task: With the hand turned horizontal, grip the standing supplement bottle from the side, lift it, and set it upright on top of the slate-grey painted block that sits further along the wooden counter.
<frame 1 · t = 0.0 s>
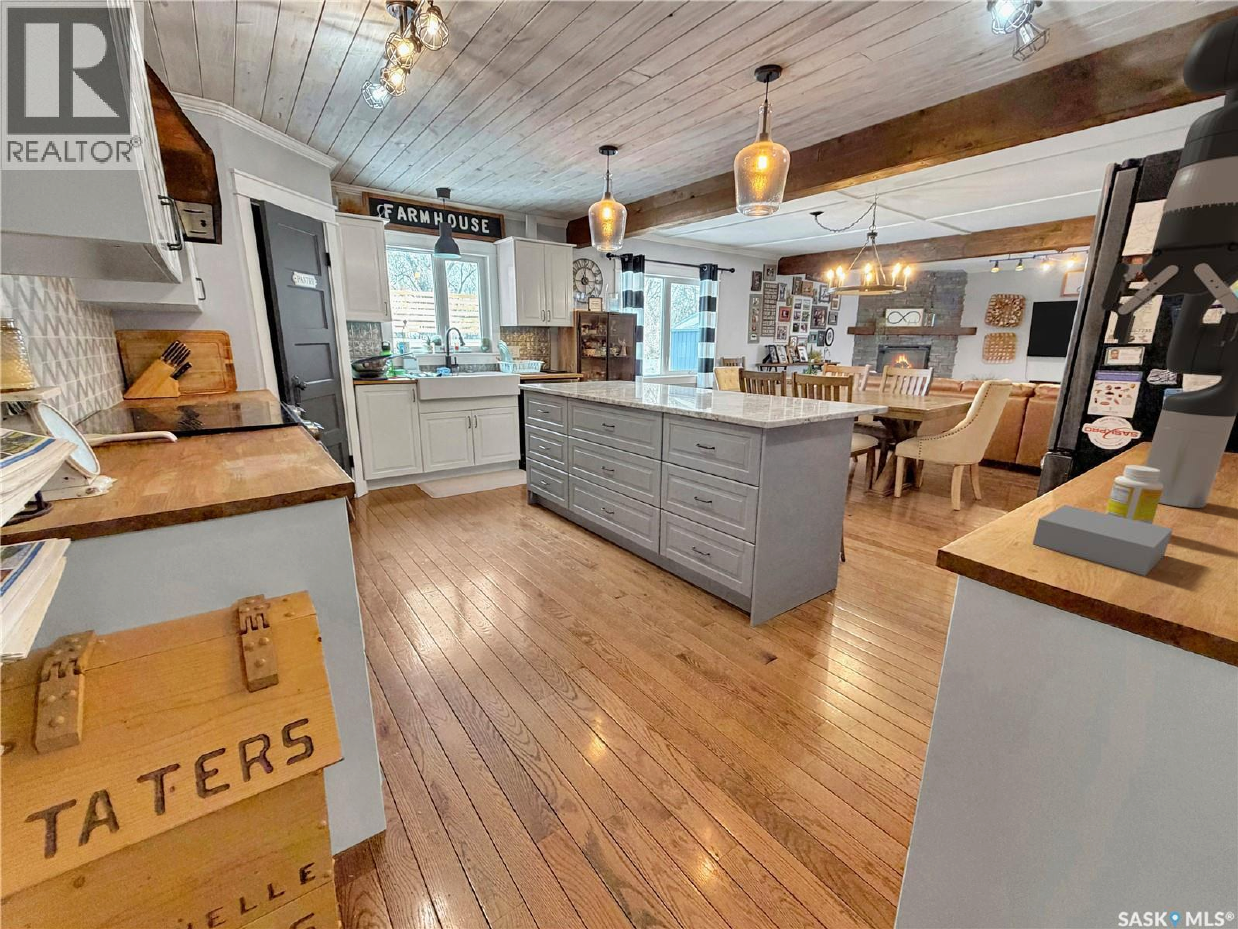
hand: (1167, 345, 65), 29 cm above the countertop, tool pointing down, fingers open, 8 cm apart
slate block: (1097, 549, 73), on the countertop
supplement bottle: (1124, 529, 82), on the countertop
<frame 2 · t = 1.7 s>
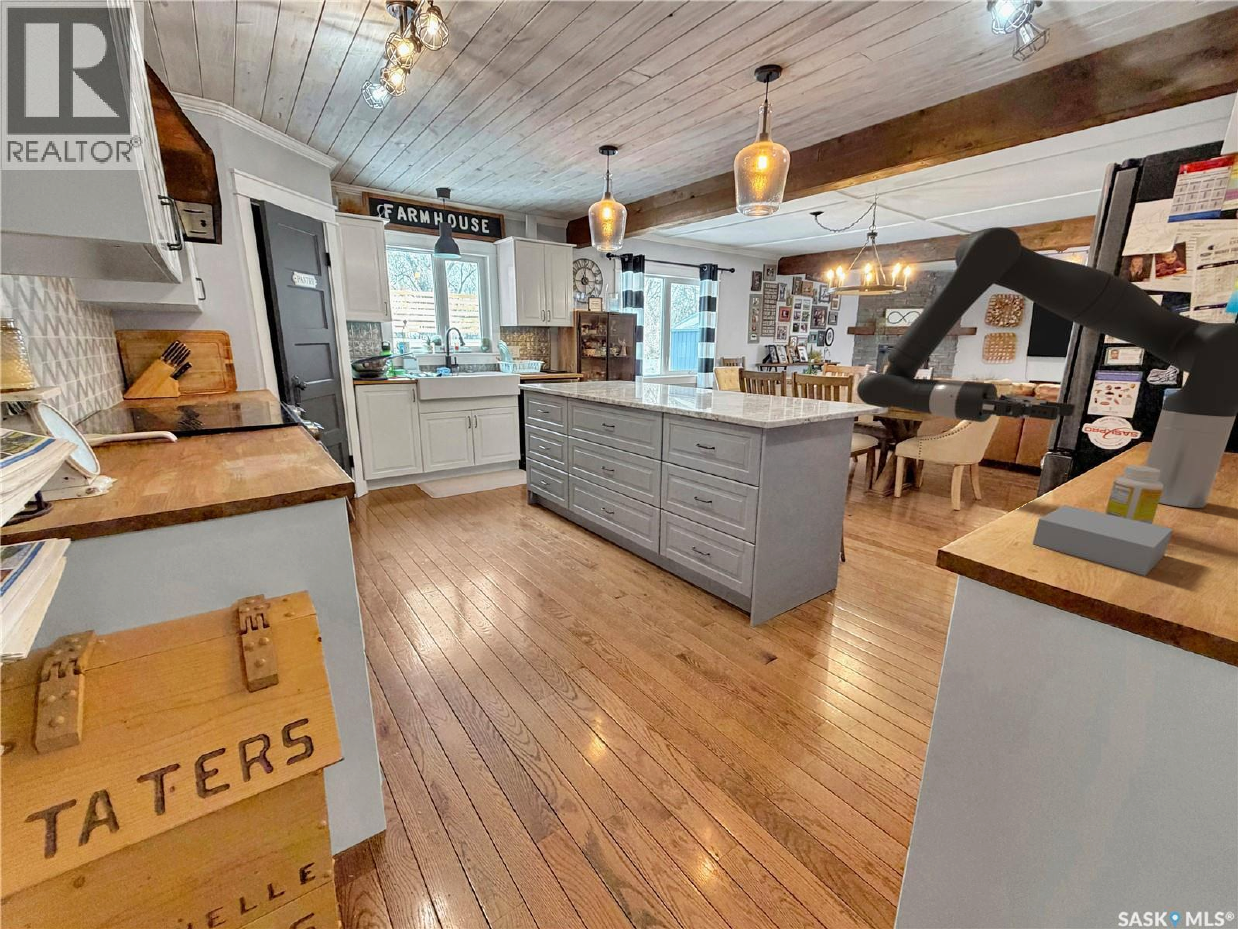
hand: (1066, 412, 87), 18 cm above the countertop, tool horizontal, fingers open, 8 cm apart
nothing on the countertop moved.
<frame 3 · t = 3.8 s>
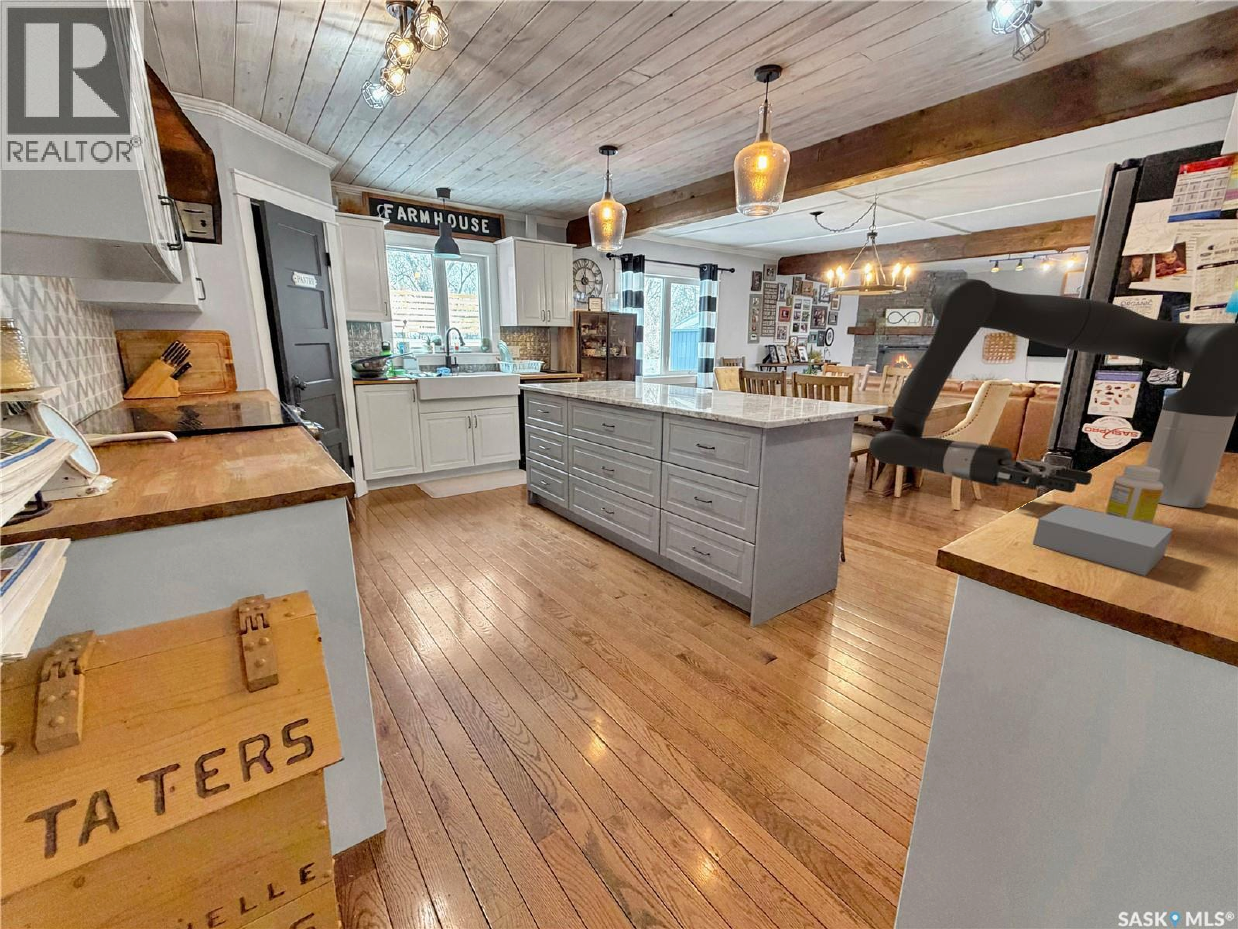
hand: (1083, 482, 86), 6 cm above the countertop, tool horizontal, fingers open, 8 cm apart
nothing on the countertop moved.
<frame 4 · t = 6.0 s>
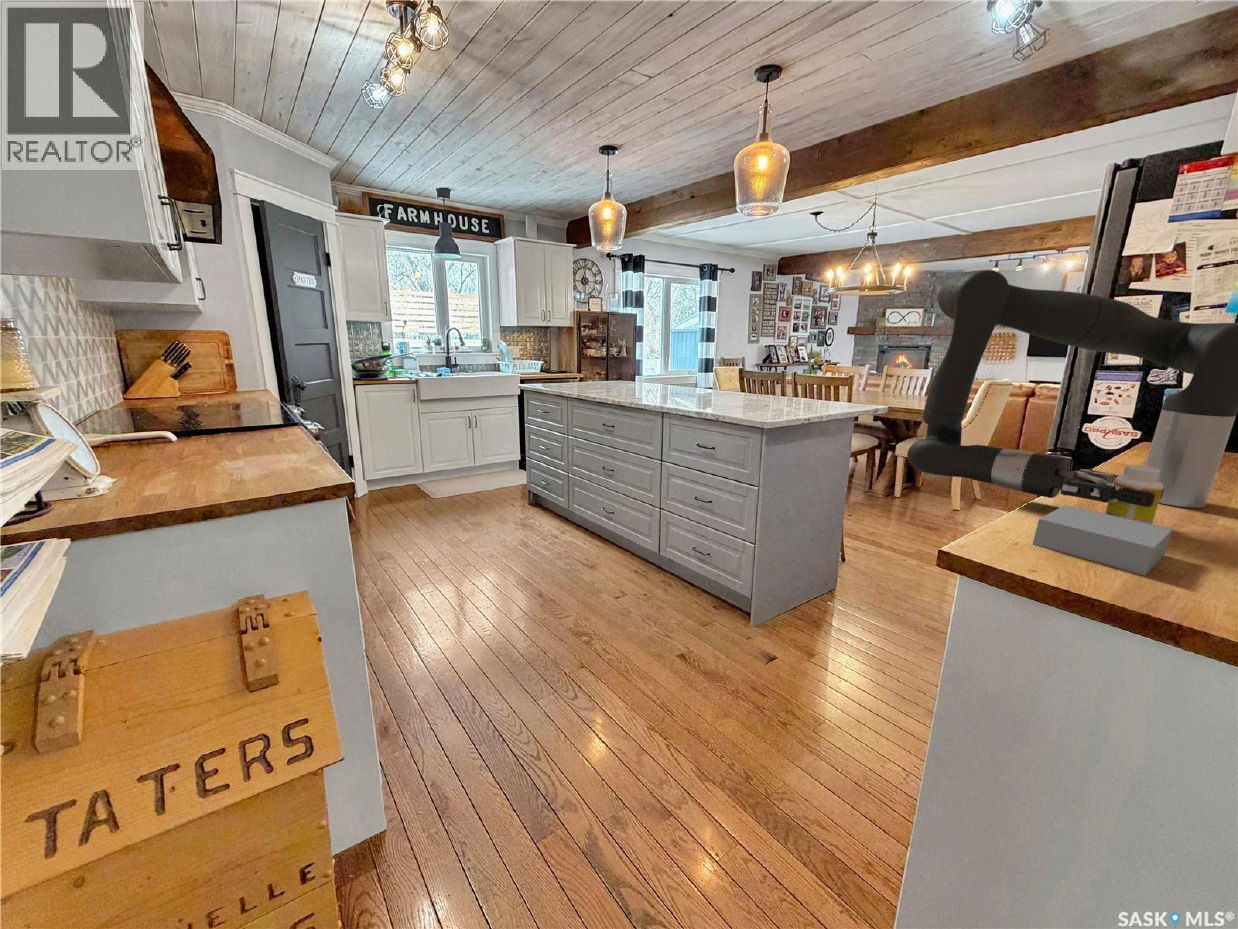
hand: (1157, 497, 79), 6 cm above the countertop, tool horizontal, fingers closed on supplement bottle, 5 cm apart
supplement bottle: (1124, 528, 82), on the countertop, touching gripper
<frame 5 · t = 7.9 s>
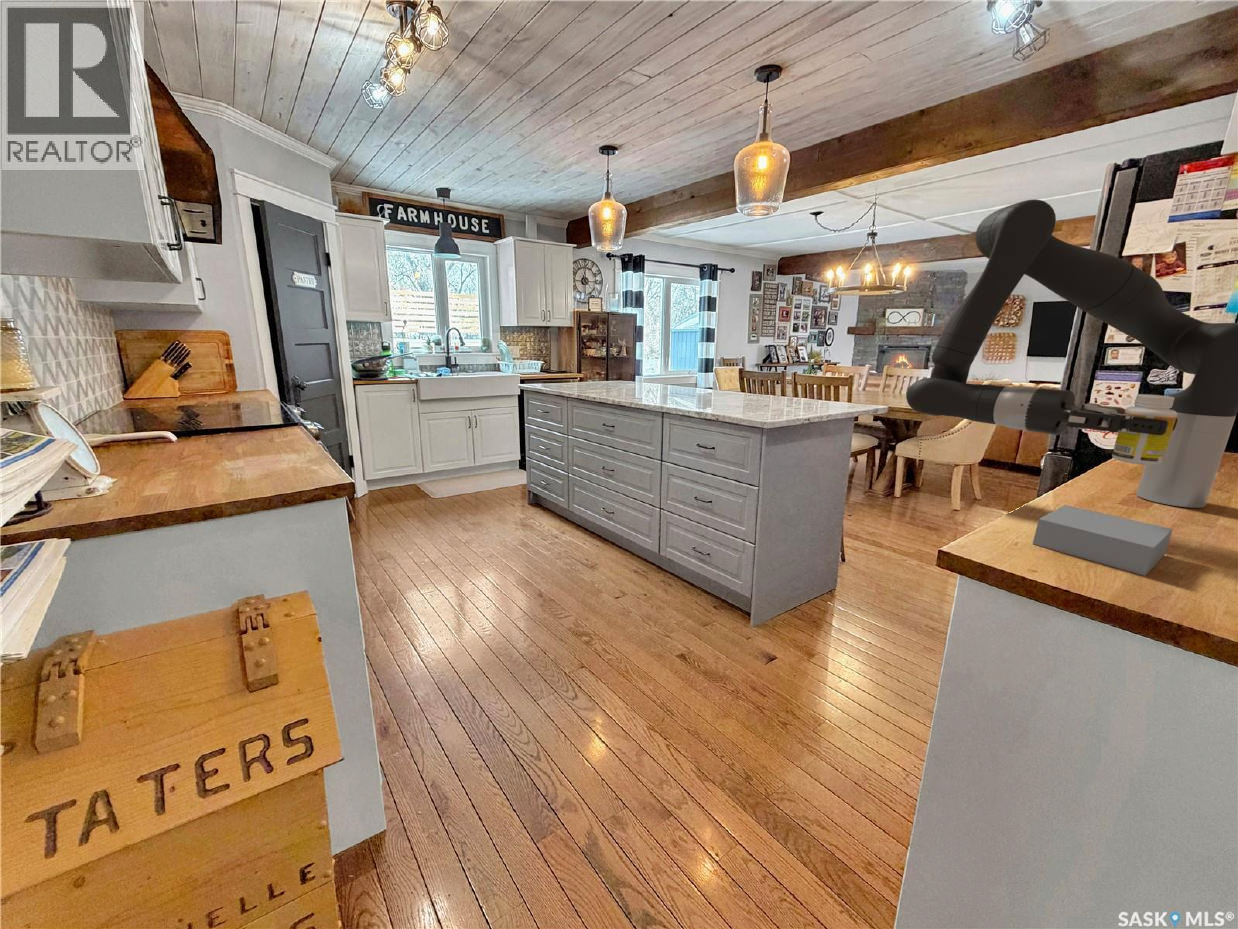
hand: (1170, 426, 74), 18 cm above the countertop, tool horizontal, fingers closed on supplement bottle, 5 cm apart
supplement bottle: (1134, 462, 78), point 11 cm above the countertop, touching gripper
when the fingers open (11 cm above the countertop, at t = 10.3 s): supplement bottle drops 1 cm, resting on slate block.
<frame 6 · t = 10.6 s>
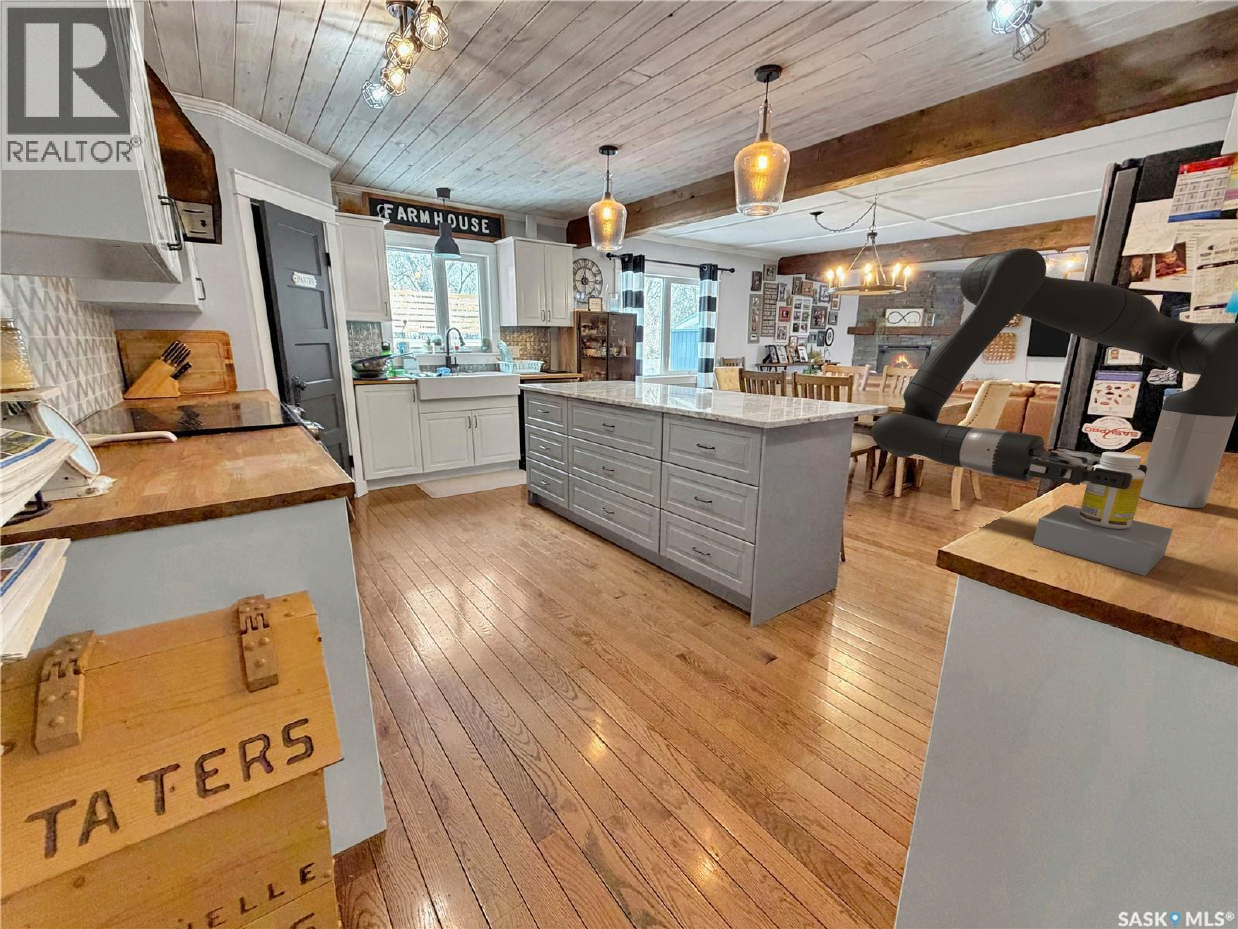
hand: (1138, 477, 69), 11 cm above the countertop, tool horizontal, fingers open, 8 cm apart
supplement bottle: (1103, 524, 73), point 4 cm above the countertop, touching slate block
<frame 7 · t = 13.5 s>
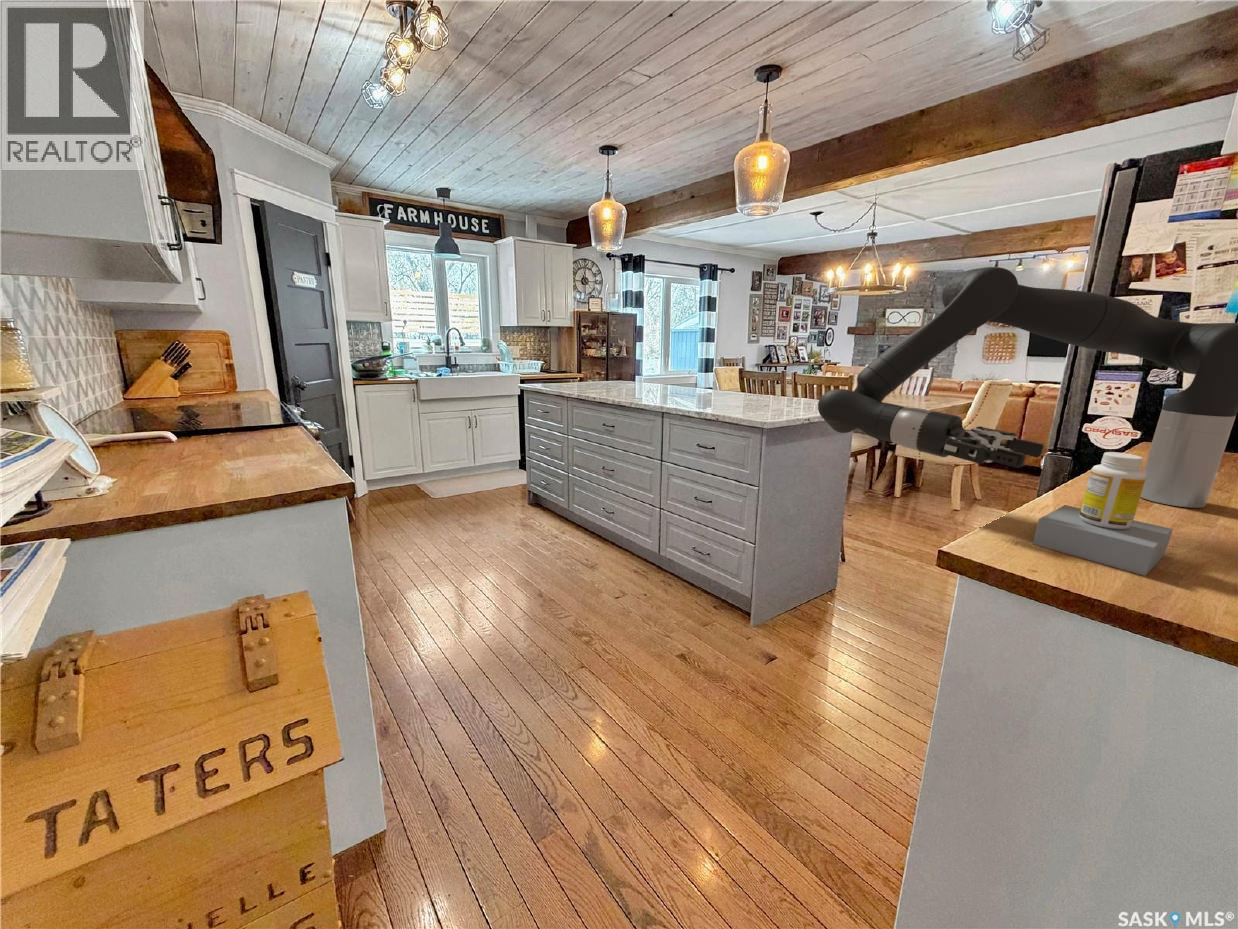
hand: (1033, 456, 79), 12 cm above the countertop, tool horizontal, fingers open, 8 cm apart
nothing on the countertop moved.
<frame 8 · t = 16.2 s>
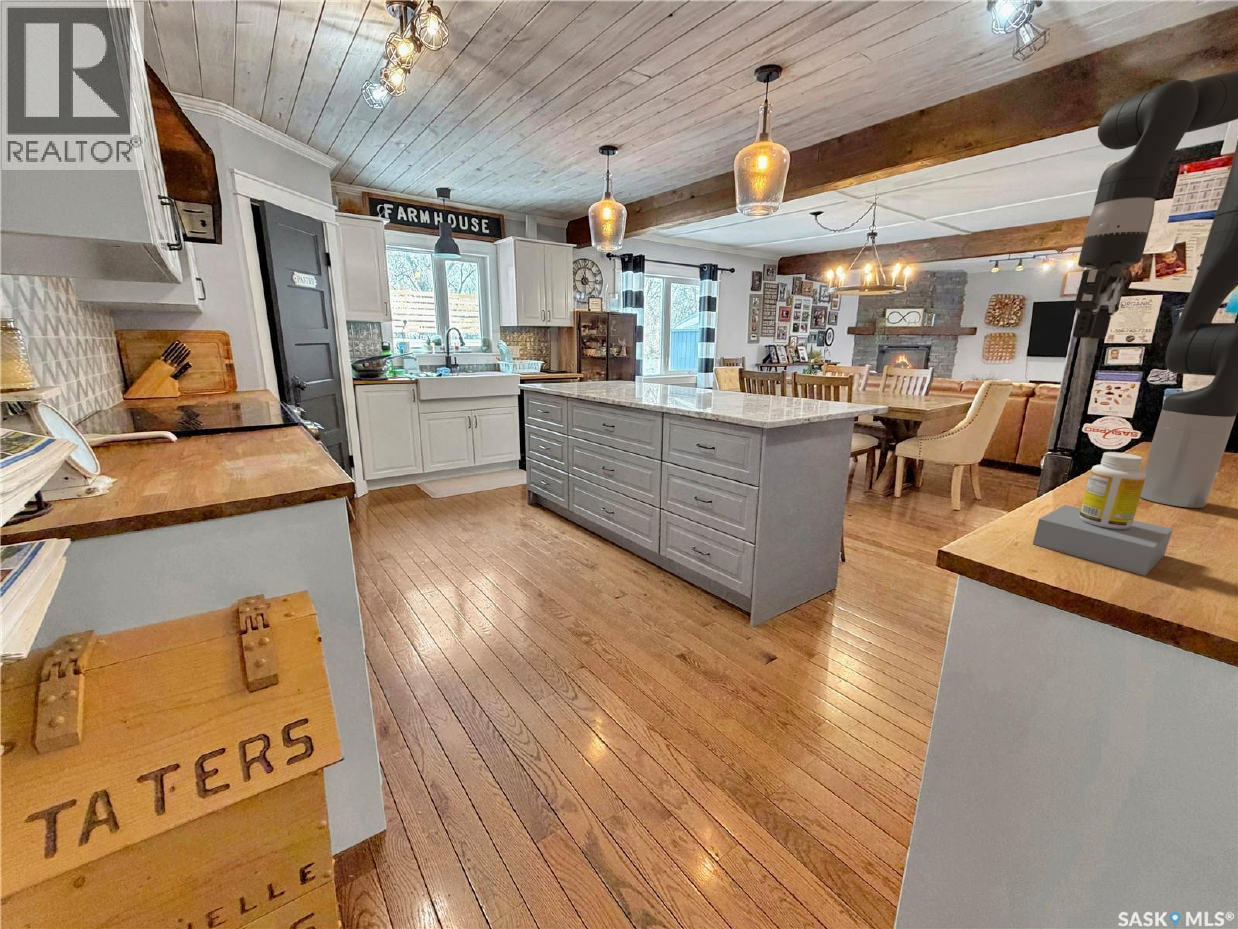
hand: (1089, 338, 84), 30 cm above the countertop, tool pointing down, fingers open, 8 cm apart
nothing on the countertop moved.
at the end: supplement bottle inside the target area on the slate block (0.1 cm from its centre), point 3.8 cm above the slate block's base; supplement bottle tilted 0°; the gripper is holding nothing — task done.
